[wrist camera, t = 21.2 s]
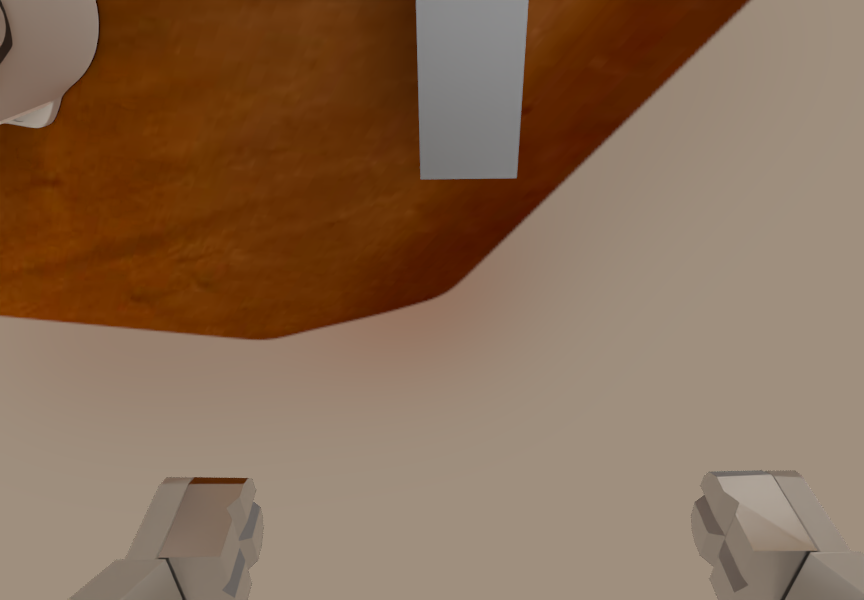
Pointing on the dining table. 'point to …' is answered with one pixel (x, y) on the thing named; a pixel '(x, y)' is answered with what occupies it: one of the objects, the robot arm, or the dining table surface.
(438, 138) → the cover
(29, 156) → the dining table surface
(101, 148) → the dining table surface
